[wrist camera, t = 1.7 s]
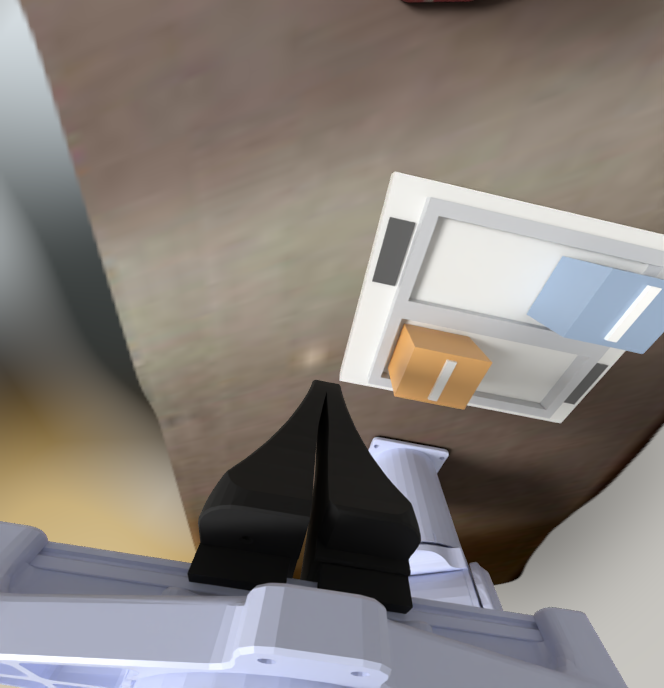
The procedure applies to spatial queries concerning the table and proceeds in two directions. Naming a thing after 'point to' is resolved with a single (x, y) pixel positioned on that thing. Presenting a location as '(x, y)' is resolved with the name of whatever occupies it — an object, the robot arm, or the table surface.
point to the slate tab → (601, 305)
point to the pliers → (436, 1)
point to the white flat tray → (486, 290)
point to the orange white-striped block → (436, 367)
